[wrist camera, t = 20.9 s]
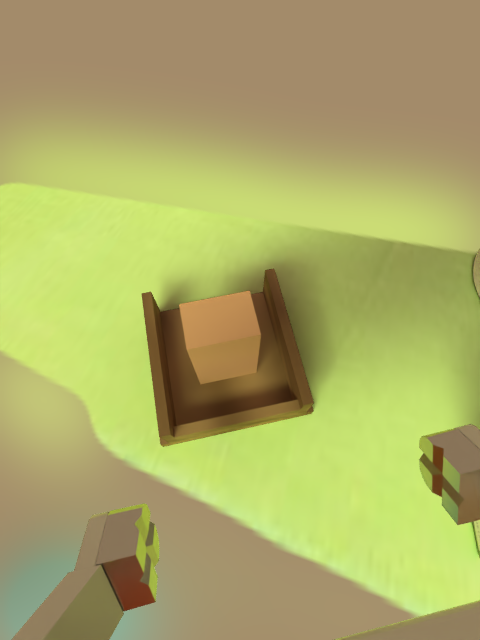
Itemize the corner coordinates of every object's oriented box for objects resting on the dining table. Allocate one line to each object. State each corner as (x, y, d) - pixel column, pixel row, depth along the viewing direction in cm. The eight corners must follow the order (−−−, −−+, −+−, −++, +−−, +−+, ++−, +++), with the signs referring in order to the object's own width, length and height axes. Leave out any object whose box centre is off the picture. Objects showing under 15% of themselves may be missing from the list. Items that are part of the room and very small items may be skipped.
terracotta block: (248, 337, 35) (249, 290, 27) (256, 372, 33) (261, 334, 25) (194, 348, 34) (178, 304, 26) (200, 384, 33) (186, 349, 25)
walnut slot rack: (276, 294, 38) (281, 267, 33) (311, 413, 33) (322, 401, 28) (147, 320, 37) (133, 295, 32) (163, 446, 32) (149, 439, 27)
